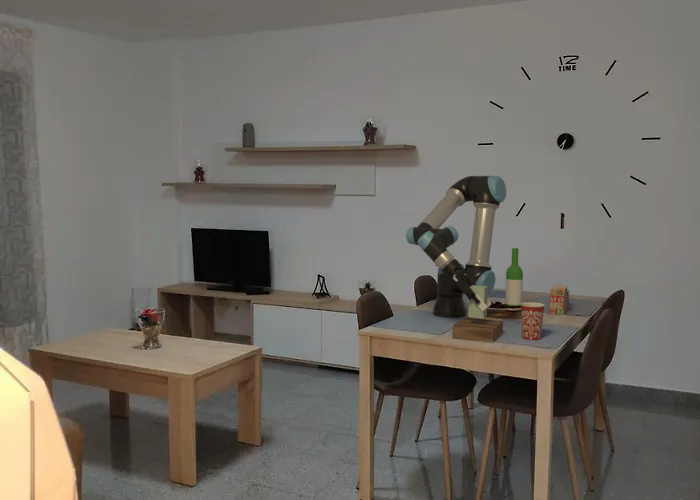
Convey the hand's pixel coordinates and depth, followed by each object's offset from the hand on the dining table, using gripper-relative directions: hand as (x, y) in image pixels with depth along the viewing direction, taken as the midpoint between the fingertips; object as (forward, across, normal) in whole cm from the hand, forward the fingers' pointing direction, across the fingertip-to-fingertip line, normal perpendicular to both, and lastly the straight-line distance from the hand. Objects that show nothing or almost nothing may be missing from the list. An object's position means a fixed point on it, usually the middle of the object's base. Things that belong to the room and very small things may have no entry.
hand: (487, 307), depth 259 cm
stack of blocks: (+22, -69, +6) cm, 73 cm away
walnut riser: (+6, 0, -11) cm, 12 cm away
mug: (+20, -7, +3) cm, 22 cm away
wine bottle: (+8, -59, -8) cm, 60 cm away
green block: (0, 0, -5) cm, 5 cm away
